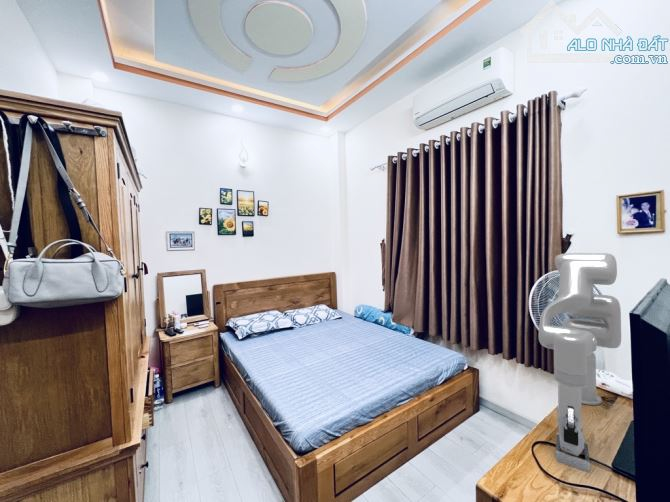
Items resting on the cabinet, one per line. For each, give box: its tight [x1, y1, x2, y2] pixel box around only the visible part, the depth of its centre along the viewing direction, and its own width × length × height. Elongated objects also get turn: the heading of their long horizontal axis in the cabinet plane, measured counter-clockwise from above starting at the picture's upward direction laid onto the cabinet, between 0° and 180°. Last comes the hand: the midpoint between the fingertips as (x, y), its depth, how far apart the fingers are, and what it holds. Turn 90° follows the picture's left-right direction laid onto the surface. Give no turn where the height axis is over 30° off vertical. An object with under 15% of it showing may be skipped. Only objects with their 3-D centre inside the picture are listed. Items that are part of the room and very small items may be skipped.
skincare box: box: [556, 406, 585, 457], centre depth 84 cm, size 6×4×12 cm
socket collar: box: [555, 432, 591, 473], centre depth 85 cm, size 11×7×2 cm
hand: (570, 436), depth 84 cm, fingers closed on skincare box, 6 cm apart
